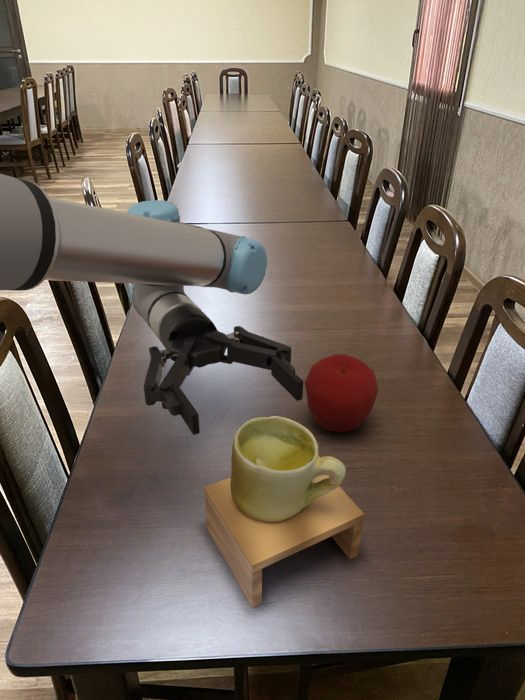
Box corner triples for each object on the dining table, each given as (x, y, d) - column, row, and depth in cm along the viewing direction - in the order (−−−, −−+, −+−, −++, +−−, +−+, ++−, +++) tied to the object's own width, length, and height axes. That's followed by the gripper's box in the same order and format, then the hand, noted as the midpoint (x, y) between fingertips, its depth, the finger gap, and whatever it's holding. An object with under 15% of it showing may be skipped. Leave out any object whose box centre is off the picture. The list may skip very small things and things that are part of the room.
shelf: (252, 608, 57) (252, 565, 53) (206, 528, 66) (203, 487, 62) (358, 555, 63) (364, 513, 59) (303, 488, 72) (305, 448, 68)
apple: (299, 403, 88) (303, 341, 82) (364, 402, 88) (372, 341, 82) (306, 448, 79) (310, 382, 72) (379, 447, 79) (389, 381, 73)
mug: (196, 499, 58) (225, 422, 55) (243, 466, 67) (270, 398, 64) (292, 566, 54) (330, 487, 50) (328, 521, 63) (362, 451, 59)
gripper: (258, 331, 85) (336, 403, 69) (101, 372, 75) (149, 466, 59) (259, 288, 81) (341, 353, 65) (92, 324, 71) (142, 412, 55)
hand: (250, 407), depth 62 cm, fingers open, 13 cm apart
